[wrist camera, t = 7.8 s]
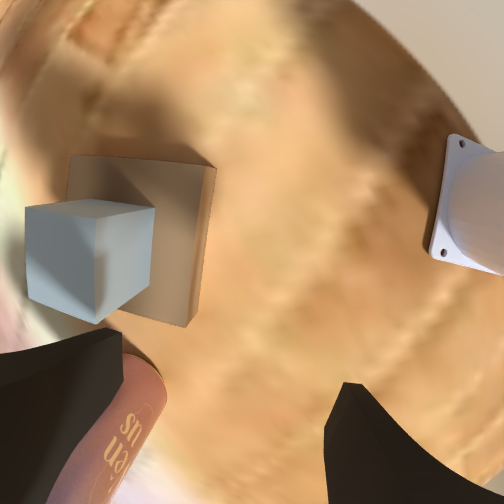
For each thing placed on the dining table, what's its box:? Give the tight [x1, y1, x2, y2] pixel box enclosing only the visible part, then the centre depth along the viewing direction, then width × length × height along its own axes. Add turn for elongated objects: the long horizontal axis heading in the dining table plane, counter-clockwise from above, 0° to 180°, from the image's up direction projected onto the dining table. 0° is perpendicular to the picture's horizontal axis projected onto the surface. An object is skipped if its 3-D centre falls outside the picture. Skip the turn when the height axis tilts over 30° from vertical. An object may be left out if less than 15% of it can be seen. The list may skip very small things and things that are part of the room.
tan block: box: [66, 155, 217, 328], centre depth 18 cm, size 9×9×3 cm
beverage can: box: [46, 353, 167, 504], centre depth 14 cm, size 6×6×15 cm
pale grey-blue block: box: [25, 199, 155, 325], centre depth 13 cm, size 4×4×6 cm
